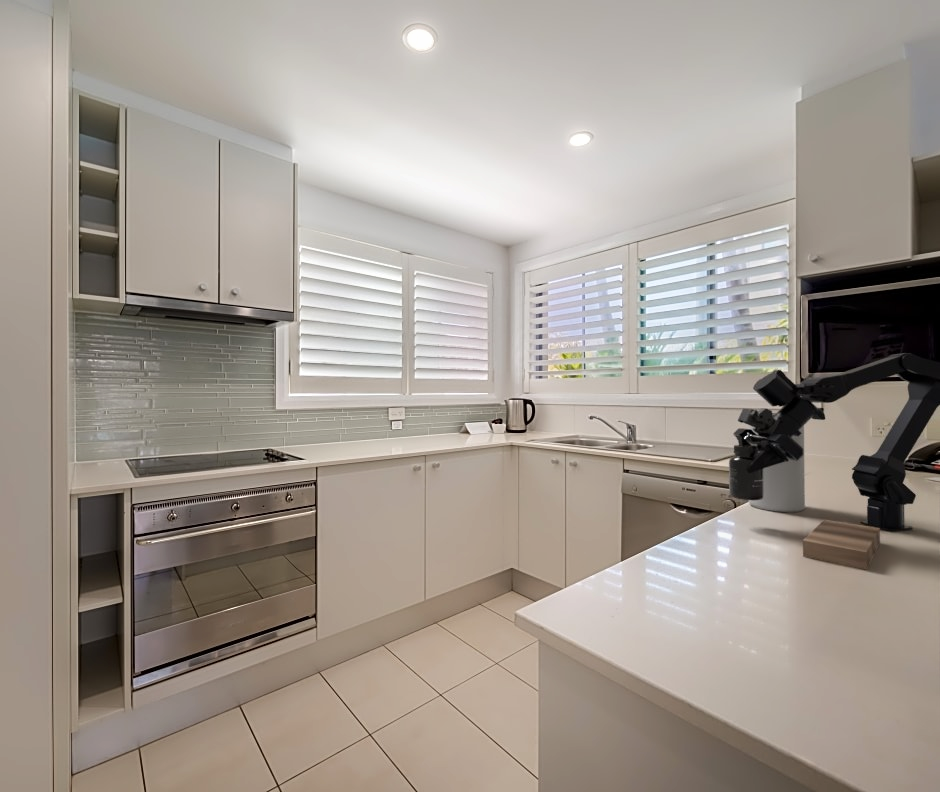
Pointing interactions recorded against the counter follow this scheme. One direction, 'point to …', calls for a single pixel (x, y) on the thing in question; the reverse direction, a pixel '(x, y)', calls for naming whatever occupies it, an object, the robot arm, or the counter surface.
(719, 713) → the counter surface
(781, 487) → the cylinder vase
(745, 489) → the supplement bottle
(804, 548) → the walnut ledge
